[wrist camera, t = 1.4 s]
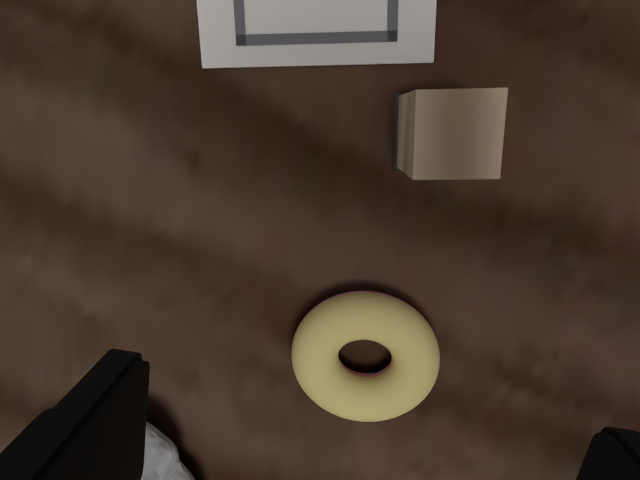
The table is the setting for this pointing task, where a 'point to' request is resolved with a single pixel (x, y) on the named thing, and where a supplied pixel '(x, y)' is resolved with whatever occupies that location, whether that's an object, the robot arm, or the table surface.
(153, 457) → the decorative stone
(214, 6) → the sheet
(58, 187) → the table surface
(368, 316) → the donut
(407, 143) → the beige cardboard box
